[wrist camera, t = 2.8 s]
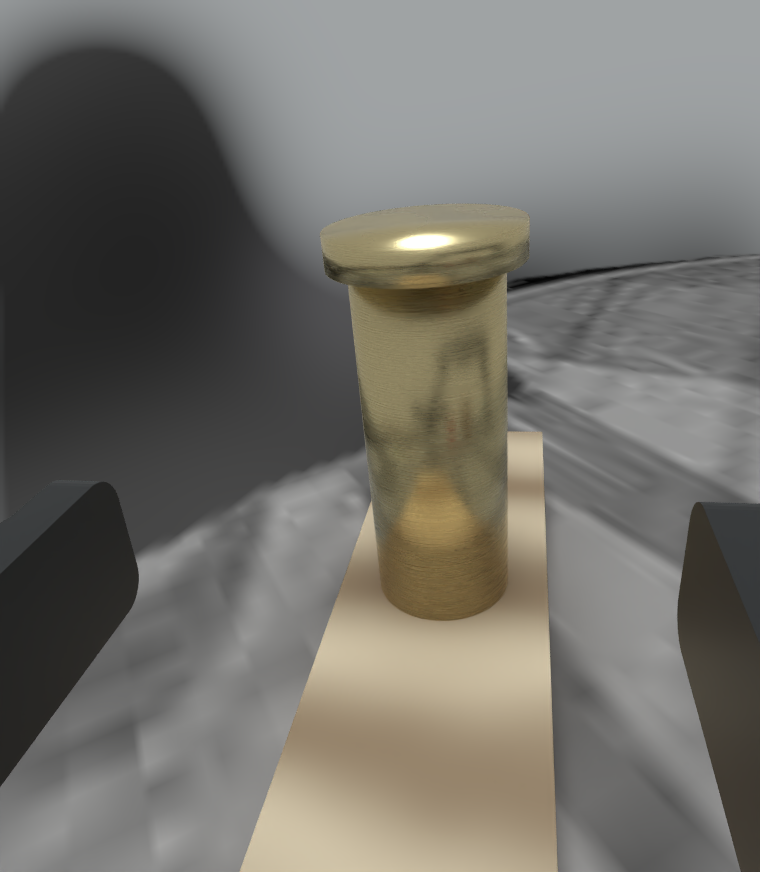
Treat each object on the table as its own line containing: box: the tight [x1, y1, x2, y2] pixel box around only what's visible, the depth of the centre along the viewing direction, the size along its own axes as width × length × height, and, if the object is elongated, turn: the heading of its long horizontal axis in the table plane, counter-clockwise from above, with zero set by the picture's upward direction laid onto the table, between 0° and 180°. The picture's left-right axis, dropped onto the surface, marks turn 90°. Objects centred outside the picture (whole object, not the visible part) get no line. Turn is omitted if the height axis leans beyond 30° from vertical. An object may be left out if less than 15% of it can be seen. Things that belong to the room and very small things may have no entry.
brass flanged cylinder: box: [320, 204, 530, 621], centre depth 22 cm, size 6×6×12 cm
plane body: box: [240, 432, 558, 872], centre depth 24 cm, size 22×7×7 cm, turn 170°
